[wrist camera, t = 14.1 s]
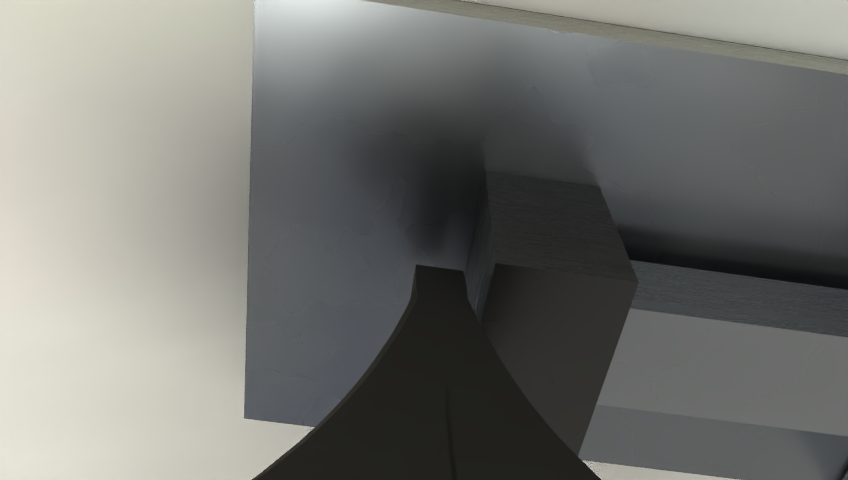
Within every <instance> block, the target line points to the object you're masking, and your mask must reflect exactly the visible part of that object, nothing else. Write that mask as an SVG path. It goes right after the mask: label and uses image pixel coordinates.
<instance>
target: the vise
mask: <svg viewBox="0 0 848 480" xmlns="http://www.w3.org/2000/svg"><path fill="white" fill-rule="evenodd" d="M485 170H489V171H496V172H503V173H510V174H517V175H524V176H531V177H538V178H545V179H552V180H559V181H566V182H573V183H580V184H588V185H595V186H600V189H601V191H602V194H603V196H604V198H605V201H606V203H607V206H608V208H609V211H610V213H611V215H612V218H613V220H614V223H615V225H616V228H617V230H618V233H619V235H620V237H621V240H622V242H623V245H624V247H625V250H626V252H627V254H628V257H629V259H630V260H633V261H641V262H648V263H655V264H663V265H670V266H677V267H684V268H692V269H699V270H706V271H714V272H721V273H728V274H735V275H743V276H750V277H757V278H765V279H772V280H779V281H786V282H794V283H801V284H808V285H815V286H823V287H830V288H837V289H845V290H848V61H847V60H841V59H834V58H828V57H821V56H815V55H808V54H802V53H795V52H789V51H782V50H776V49H769V48H763V47H756V46H750V45H743V44H737V43H730V42H724V41H717V40H711V39H704V38H698V37H691V36H684V35H678V34H671V33H665V32H658V31H652V30H645V29H639V28H632V27H626V26H619V25H613V24H606V23H600V22H593V21H587V20H580V19H574V18H567V17H561V16H554V15H548V14H541V13H535V12H528V11H521V10H515V9H508V8H502V7H495V6H489V5H482V4H476V3H469V2H463V1H456V0H255V3H254V43H253V83H252V123H251V164H250V204H249V244H248V284H247V325H246V365H245V405H244V418H246V419H254V420H262V421H270V422H278V423H286V424H294V425H302V426H310V427H316V426H317V425H318V424H319V423H320V422H321V421H322V420H323V419H324V418H325V417H326V416H327V415H328V414H329V413H330V412H331V411H332V410H333V409H334V408H335V407H336V406H337V405H338V404H339V402H340V401H341V400H342V399H343V398H344V397H345V396H346V395H347V393H348V392H349V391H350V390H351V389H352V388H353V387H354V385H355V384H356V383H357V382H358V380H359V379H360V378H361V377H362V375H363V374H364V373H365V372H366V370H367V369H368V368H369V366H370V365H371V364H372V362H373V361H374V359H375V358H376V356H377V355H378V354H379V352H380V351H381V349H382V348H383V346H384V345H385V343H386V342H387V341H388V339H389V337H390V336H391V334H392V333H393V331H394V329H395V327H396V326H397V324H398V322H399V320H400V318H401V317H402V315H403V313H404V311H405V309H406V307H407V305H408V303H409V301H410V297H411V291H412V285H413V279H414V273H415V266H416V264H417V265H424V266H432V267H439V268H447V269H454V270H462V271H463V273H464V272H465V267H466V262H467V257H468V252H469V247H470V243H471V238H472V233H473V228H474V223H475V218H476V213H477V208H478V203H479V198H480V194H481V189H482V184H483V179H484V174H485ZM578 457H579V458H580V459H581V460H586V461H595V462H603V463H611V464H619V465H627V466H635V467H643V468H651V469H659V470H668V471H676V472H684V473H692V474H700V475H708V476H716V477H724V478H733V479H741V480H842V479H843V478H844V476H845V475H846V473H847V471H848V436H842V435H834V434H826V433H818V432H810V431H802V430H794V429H786V428H779V427H771V426H763V425H755V424H747V423H739V422H731V421H724V420H716V419H708V418H700V417H692V416H684V415H676V414H669V413H661V412H653V411H645V410H637V409H629V408H621V407H613V406H606V405H598V404H596V407H595V409H594V412H593V415H592V418H591V421H590V424H589V426H588V429H587V432H586V435H585V438H584V441H583V444H582V446H581V449H580V452H579V455H578Z"/></svg>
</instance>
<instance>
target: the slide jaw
mask: <svg viewBox="0 0 848 480" xmlns="http://www.w3.org/2000/svg"><path fill="white" fill-rule="evenodd" d="M464 277H465V281H466V286H467V292H468V294H467V298H468V300H469V303H470V305H471V307H472V309H473V311H474V313H475V315H476V317H477V319H478V321H479V322H480V324H481V326H482V328H483V330H484V332H485V333H486V335H487V337H488V339H489V340H490V342H491V344H492V346H493V347H494V349H495V351H496V352H497V354H498V356H499V357H500V359H501V361H502V362H503V364H504V365H505V367H506V368H507V370H508V371H509V373H510V374H511V376H512V377H513V379H514V380H515V382H516V383H517V385H518V386H519V388H520V389H521V390H522V392H523V393H524V395H525V396H526V397H527V399H528V400H529V401H530V403H531V404H532V405H533V407H534V408H535V409H536V411H537V412H538V413H539V414H540V415H541V417H542V418H543V419H544V420H545V422H546V423H547V424H548V425H549V426H550V428H551V429H552V430H553V431H554V432H555V433H556V434H557V436H558V437H559V438H560V439H561V440H562V441H563V442H564V443H565V444H566V445H567V446H568V447H569V448H570V449H571V450H572V451H573V452H574V453H575V454H576V455H577V456H578V455H579V452H580V449H581V446H582V444H583V441H584V438H585V435H586V432H587V429H588V426H589V424H590V421H591V418H592V415H593V412H594V409H595V407H596V404H598V405H606V406H613V407H621V408H629V409H637V410H645V411H653V412H661V413H669V414H676V415H684V416H692V417H700V418H708V419H716V420H724V421H731V422H739V423H747V424H755V425H763V426H771V427H779V428H786V429H794V430H802V431H810V432H818V433H826V434H834V435H842V436H848V290H845V289H837V288H830V287H823V286H815V285H808V284H801V283H794V282H786V281H779V280H772V279H765V278H757V277H750V276H743V275H735V274H728V273H721V272H714V271H706V270H699V269H692V268H684V267H677V266H670V265H663V264H655V263H648V262H641V261H633V260H630V259H629V257H628V254H627V252H626V250H625V247H624V245H623V242H622V240H621V237H620V235H619V233H618V230H617V228H616V225H615V223H614V220H613V218H612V215H611V213H610V211H609V208H608V206H607V203H606V201H605V198H604V196H603V194H602V191H601V189H600V186H595V185H588V184H580V183H573V182H566V181H559V180H552V179H545V178H538V177H531V176H524V175H517V174H510V173H503V172H496V171H489V170H485V174H484V179H483V184H482V189H481V194H480V198H479V203H478V208H477V213H476V218H475V223H474V228H473V233H472V238H471V243H470V247H469V252H468V257H467V262H466V267H465V272H464ZM842 480H848V471H847V473H846V475H845V476H844V478H843V479H842Z"/></svg>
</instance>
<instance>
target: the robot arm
mask: <svg viewBox="0 0 848 480" xmlns="http://www.w3.org/2000/svg"><path fill="white" fill-rule="evenodd" d="M467 294H468V292H467V286H466V281H465V277H464V273H463V271H462V270H454V269H447V268H439V267H432V266H424V265H417V264H416V266H415V273H414V279H413V285H412V291H411V297H410V301H409V303H408V305H407V307H406V309H405V311H404V313H403V315H402V317H401V318H400V320H399V322H398V324H397V326H396V327H395V329H394V331H393V333H392V334H391V336H390V337H389V339H388V341H387V342H386V343H385V345H384V346H383V348H382V349H381V351H380V352H379V354H378V355H377V356H376V358H375V359H374V361H373V362H372V364H371V365H370V366H369V368H368V369H367V370H366V372H365V373H364V374H363V375H362V377H361V378H360V379H359V380H358V382H357V383H356V384H355V385H354V387H353V388H352V389H351V390H350V391H349V392H348V393H347V395H346V396H345V397H344V398H343V399H342V400H341V401H340V402H339V404H338V405H337V406H336V407H335V408H334V409H333V410H332V411H331V412H330V413H329V414H328V415H327V416H326V417H325V418H324V419H323V420H322V421H321V422H320V423H319V424H318V425H317V426H316V427H315V428H314V429H313V430H312V431H311V432H309V433H308V434H307V435H306V436H305V437H304V438H303V439H302V440H301V441H300V442H298V443H297V444H296V445H295V446H294V447H292V448H291V449H290V450H289V451H287V452H286V453H285V454H284V455H282V456H281V457H280V458H279V459H278V460H276V461H275V462H274V463H273V464H271V465H270V466H269V467H268V468H267V469H265V470H264V471H263V472H262V473H260V474H259V475H258V476H256V477H255V478H254V479H252V480H601V479H600V478H599V477H598V476H597V475H596V474H595V473H594V472H593V471H592V470H591V469H590V468H589V467H588V466H587V465H586V464H585V463H584V462H583V461H582V460H581V459H580V458H579V457H578V456H577V455H576V454H575V453H574V452H573V451H572V450H571V449H570V448H569V447H568V446H567V445H566V444H565V443H564V442H563V441H562V440H561V439H560V438H559V437H558V436H557V434H556V433H555V432H554V431H553V430H552V429H551V428H550V426H549V425H548V424H547V423H546V422H545V420H544V419H543V418H542V417H541V415H540V414H539V413H538V412H537V411H536V409H535V408H534V407H533V405H532V404H531V403H530V401H529V400H528V399H527V397H526V396H525V395H524V393H523V392H522V390H521V389H520V388H519V386H518V385H517V383H516V382H515V380H514V379H513V377H512V376H511V374H510V373H509V371H508V370H507V368H506V367H505V365H504V364H503V362H502V361H501V359H500V357H499V356H498V354H497V352H496V351H495V349H494V347H493V346H492V344H491V342H490V340H489V339H488V337H487V335H486V333H485V332H484V330H483V328H482V326H481V324H480V322H479V321H478V319H477V317H476V315H475V313H474V311H473V309H472V307H471V305H470V303H469V300H468V298H467Z"/></svg>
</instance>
